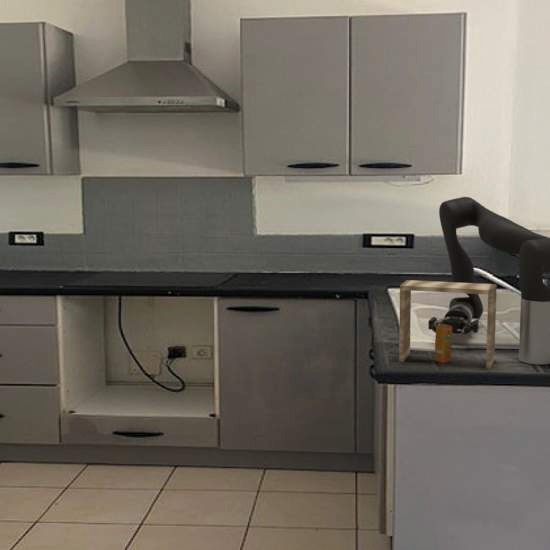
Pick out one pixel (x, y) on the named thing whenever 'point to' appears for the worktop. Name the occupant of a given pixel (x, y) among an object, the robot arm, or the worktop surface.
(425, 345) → the tile pad
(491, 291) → the shelf bay
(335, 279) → the worktop surface
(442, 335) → the supplement box
